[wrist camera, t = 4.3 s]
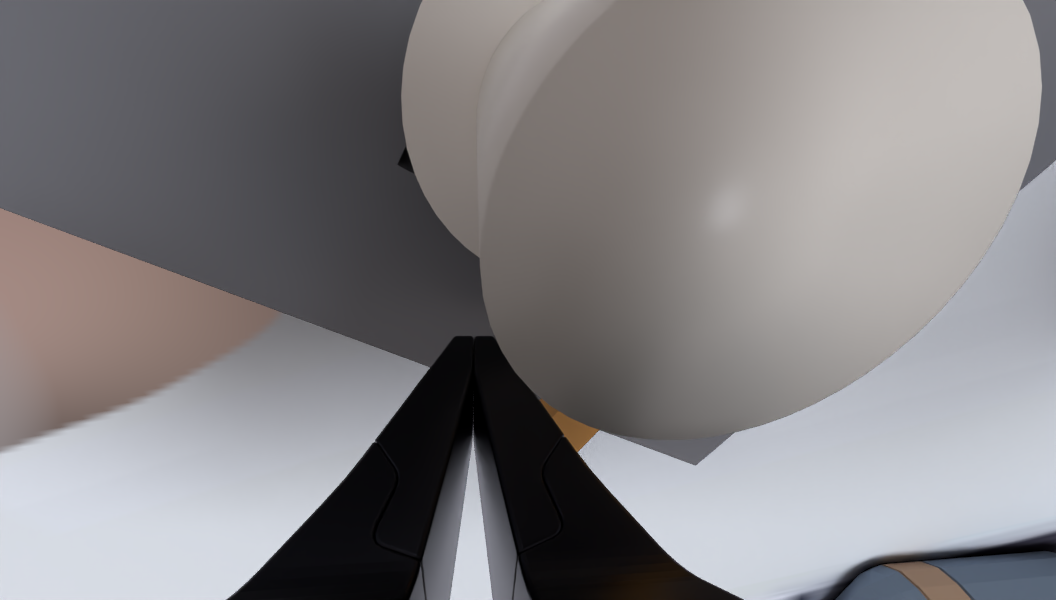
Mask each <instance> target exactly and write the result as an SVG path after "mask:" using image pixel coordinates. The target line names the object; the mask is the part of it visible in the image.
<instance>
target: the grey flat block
mask: <svg viewBox="0 0 1056 600" xmlns="http://www.w3.org/2000/svg"><path fill="white" fill-rule="evenodd" d="M1023 1H1024V3H1025V5H1026V7H1027V9H1028V11H1029V13H1030V16H1031V20H1032V24H1033V27H1034V31H1035V35H1036V39H1037V43H1038V47H1039V51H1040V65H1041V80H1042V93H1041V104H1040V115H1039V125H1038V129H1037V133H1036V138H1035V142H1034V146H1033V151H1032V155H1031V159H1030V162H1029V165H1028V168H1027V170H1026V173H1025V176H1024V179H1023V181H1022V184H1021V187H1020V190H1021V189H1022V188H1024V187H1025V186H1026V185H1027V184H1028V183H1029V182H1031V181H1032V180H1033V179H1034V178H1035V177H1037V176H1038V175H1039V174H1040V173H1041V172H1042V171H1044V170H1045V169H1046V168H1047V167H1048V166H1049V165H1051V164H1052V163H1053V162H1054V161H1055V160H1056V0H1023ZM421 2H422V0H0V208H2V209H4V210H7V211H10V212H12V213H15V214H18V215H21V216H23V217H26V218H29V219H31V220H34V221H37V222H39V223H42V224H45V225H47V226H50V227H53V228H56V229H58V230H61V231H64V232H66V233H69V234H72V235H74V236H77V237H80V238H83V239H86V240H88V241H91V242H93V243H96V244H99V245H101V246H104V247H107V248H110V249H112V250H115V251H118V252H120V253H123V254H126V255H129V256H131V257H134V258H137V259H139V260H142V261H145V262H147V263H150V264H153V265H155V266H158V267H161V268H164V269H167V270H169V271H172V272H175V273H177V274H180V275H183V276H185V277H188V278H191V279H194V280H196V281H199V282H202V283H204V284H207V285H210V286H212V287H215V288H218V289H220V290H223V291H226V292H229V293H231V294H234V295H237V296H239V297H242V298H245V299H247V300H250V301H253V302H256V303H258V304H261V305H264V306H266V307H269V308H272V309H274V310H277V311H280V312H282V313H285V314H288V315H291V316H293V317H296V318H299V319H301V320H304V321H307V322H309V323H312V324H315V325H318V326H320V327H323V328H326V329H328V330H331V331H334V332H336V333H339V334H342V335H345V336H347V337H350V338H353V339H355V340H358V341H361V342H363V343H366V344H369V345H372V346H374V347H377V348H380V349H382V350H385V351H388V352H391V353H393V354H396V355H399V356H401V357H404V358H407V359H409V360H412V361H415V362H418V363H420V364H423V365H426V366H428V367H431V366H432V365H433V363H434V362H435V361H436V360H437V358H438V357H439V356H440V354H441V353H442V352H443V350H444V349H445V348H446V346H447V345H448V344H449V342H450V341H451V340H452V338H453V337H455V336H472V337H473V338H475V337H476V336H493V337H494V338H495V339H496V337H495V335H494V333H493V331H492V328H491V326H490V322H489V319H488V315H487V311H486V307H485V303H484V299H483V292H482V282H481V273H480V258H479V257H478V256H476V255H475V254H474V253H472V252H471V251H470V250H468V249H467V248H466V247H465V246H464V245H463V244H462V243H461V242H460V241H459V240H457V239H456V238H455V237H454V236H453V235H452V234H451V233H450V231H449V230H448V229H447V228H446V226H445V225H444V224H443V223H442V222H441V220H440V219H439V218H438V217H437V215H436V214H435V212H434V210H433V209H432V207H431V205H430V204H429V202H428V200H427V199H426V197H425V196H424V193H423V191H422V189H421V187H420V184H419V182H418V180H417V178H416V176H415V173H414V170H413V167H412V163H411V160H410V157H409V154H408V151H407V146H406V140H405V134H404V129H403V122H402V103H401V90H402V77H403V65H404V60H405V55H406V50H407V45H408V41H409V36H410V33H411V30H412V27H413V24H414V21H415V18H416V15H417V12H418V10H419V7H420V4H421ZM1020 190H1019V191H1020ZM535 395H536V394H535ZM536 396H537V397H538V399H539V400H540V399H541V398H540V397H539V396H538V395H536ZM601 431H602V430H601ZM604 432H605V431H604ZM607 433H609V432H607ZM734 433H735V432H734ZM609 434H612V433H609ZM732 434H733V433H729V434H724V435H719V436H714V437H706V438H697V439H688V440H652V439H639V438H633V437H627V436H622V435H616V434H612V435H615V436H617V437H620V438H623V439H626V440H628V441H631V442H634V443H636V444H639V445H642V446H644V447H647V448H650V449H653V450H655V451H658V452H661V453H663V454H666V455H669V456H671V457H674V458H677V459H680V460H682V461H685V462H688V463H690V464H693V465H697V464H698V463H699V462H700V461H702V460H703V459H704V458H705V457H706V456H707V455H709V454H710V453H711V452H712V451H713V450H715V449H716V448H717V447H718V446H719V445H720V444H722V443H723V442H724V441H725V440H726V439H728V438H729V437H730V436H731V435H732Z"/></svg>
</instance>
